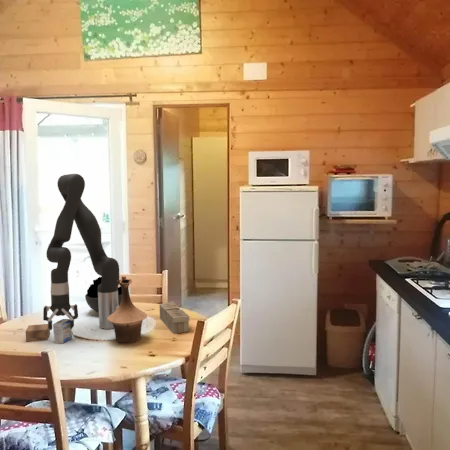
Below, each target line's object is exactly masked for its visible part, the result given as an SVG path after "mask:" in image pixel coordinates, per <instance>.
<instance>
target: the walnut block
mask: <svg viewBox="0 0 450 450" xmlns="http://www.w3.org/2000/svg"><path fill="white" fill-rule="evenodd" d="M50 335H51V330H50V329H49V328H48V323H43V324H42V323H41V324H30V325H28V326H27V328H26V330H25V341H26V342H25V343H31V342H32V341H33V342H43V341H48V340H49V339H50V337H51V336H50ZM30 341H31V342H30Z"/></svg>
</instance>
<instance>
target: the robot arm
mask: <svg viewBox="0 0 450 450" xmlns="http://www.w3.org/2000/svg"><path fill="white" fill-rule="evenodd" d="M85 187H86V181H85V179H84V177H83V176H82V175H81V174H78V173H69V174H63V175H60V176H59V177H58V180H57V188H58V191H59V193H60V195H61V197H62V199H63V200H64V202H65V203H64V205H63V208H62V210H61V211H60V213H59V214H58V217H57V219H56V223H55V227H54V232H53V236H52V238H51V240H50V242H49V244H48V246H47V249H46V259H47V260H48V261H49V262H50V263H53V264H57V265H56V268H53V269H51V271H50V303H51V304H50V306H49V305H44V307H43V311H42V312H43V313H42V314H43V316H42V319H43V320H42V321H45V322H47V324H48V328H49V329H50V331H52V330H53V320H52V319H53V318H54V317H55V316H56V317H60V316H63V317H64V316H66V317H67V319H70V329H72V330H73V328H74V326H75V320H76V319H78V318H79V311H78V304H76V303H75V304H72V305H71V302H70V286H69V270H70V265H71V261H72V253H71V250H70V249H69V248H68V247H65V246H64V244H65V243H68V242H69V241H70V240H71V237H72V231H73V226H74V222H75V225H76V228H77V230H78V232H79V235H80V236H81V239H82V240H83V243H84V246H85V247H86V249H87V252H88V254H89V255H88V256H89V258H90V261H91V264H92V267H93V270H94V272H95V273H96V274H97V275H99V277H102V282H101V284H100V285H98V304H99V313H98V321H99V322H98V323H99V328H100V329H102V328H104V329H105V330H110V329H114V327H113V324H112V322H110V321H108V319H107V318H108V317H109V316H110V315H111V314H113V313H114V312H115V311H116V310H117V308H118V307H119V305H118V287H119V286H120V284H119V283H118V281H117V280H120V265H119V262H118V260H117V259H115V258H113V257H110V256H109V257H108V255H107V253H106V251H105V249H104V247H103V243H102V231H101V227H100V225H99V222H98V219H97V218H96V216H95V214H93V212H92V211H91V210H90V209H89V208H88V207H87V206H86V204H85V203H84V201H83V200H82V197H83V194H84V191H85ZM50 310H51V312H52V314H50V316H48V312H49V311H50ZM70 310H72V311H73V314H74V315H73V314H72V313H71V312H70ZM104 329H103V330H104Z"/></svg>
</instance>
